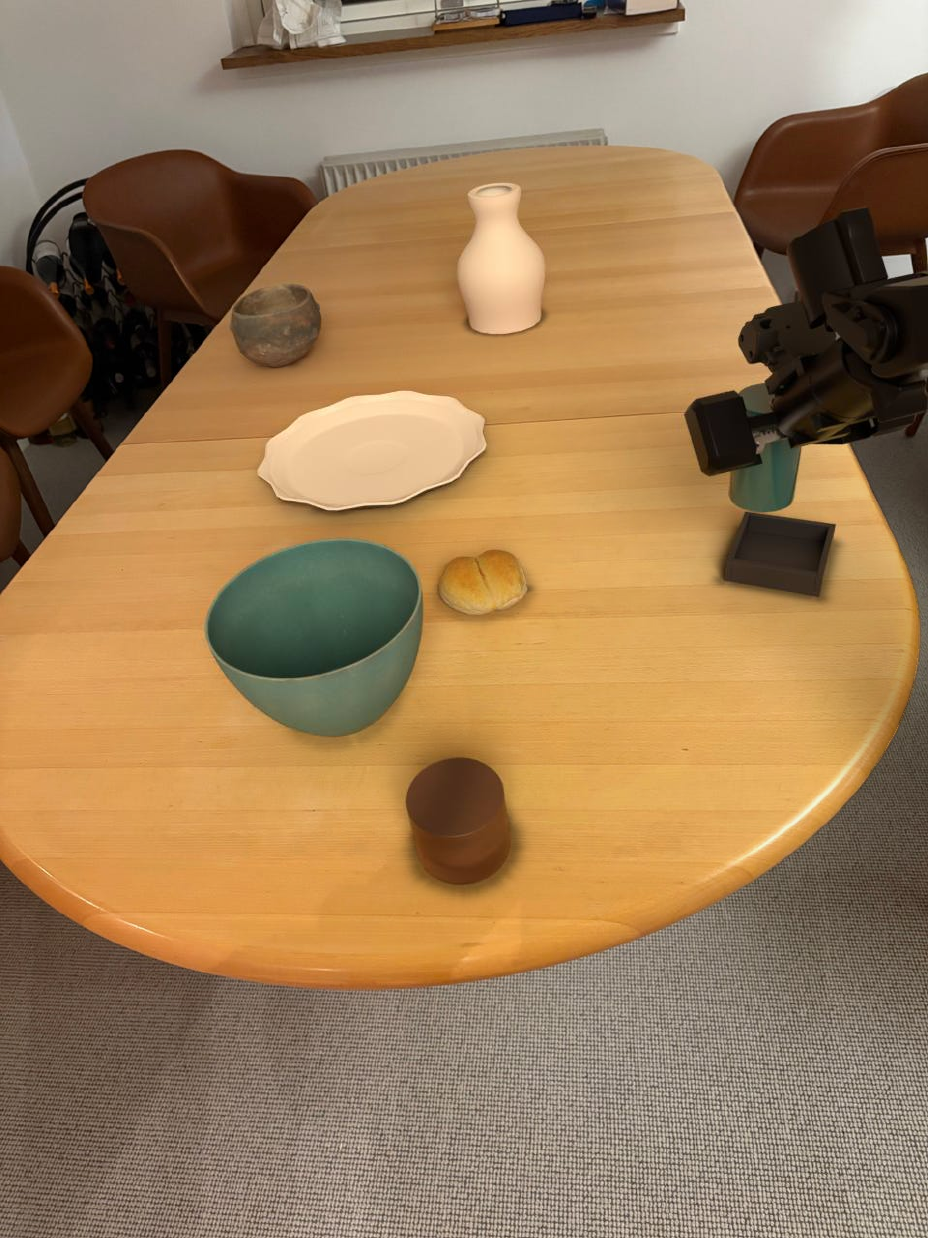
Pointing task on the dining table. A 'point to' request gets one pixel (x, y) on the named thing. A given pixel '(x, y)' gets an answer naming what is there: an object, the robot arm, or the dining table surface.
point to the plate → (373, 451)
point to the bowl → (276, 324)
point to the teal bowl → (320, 633)
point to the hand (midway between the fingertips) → (759, 445)
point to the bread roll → (483, 582)
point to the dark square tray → (780, 553)
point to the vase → (500, 264)
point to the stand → (459, 820)
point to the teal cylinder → (765, 465)
